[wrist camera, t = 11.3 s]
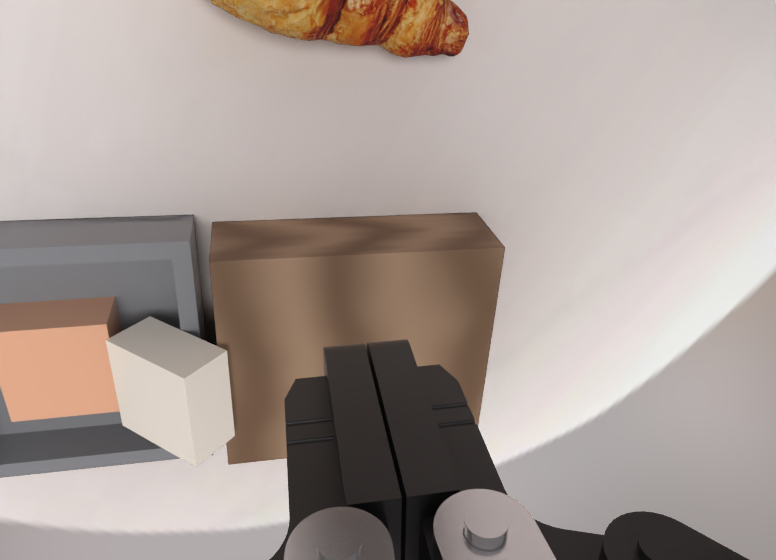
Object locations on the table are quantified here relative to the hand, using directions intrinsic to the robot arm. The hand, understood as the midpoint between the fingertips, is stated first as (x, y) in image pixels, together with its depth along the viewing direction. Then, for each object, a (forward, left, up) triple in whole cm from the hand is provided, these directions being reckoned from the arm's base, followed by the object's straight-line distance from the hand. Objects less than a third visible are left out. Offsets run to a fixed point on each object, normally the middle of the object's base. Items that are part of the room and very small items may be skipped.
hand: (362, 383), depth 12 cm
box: (+12, +15, -26) cm, 33 cm away
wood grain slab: (-4, +15, -26) cm, 31 cm away
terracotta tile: (+13, +15, -22) cm, 30 cm away
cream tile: (+6, +16, -22) cm, 28 cm away
